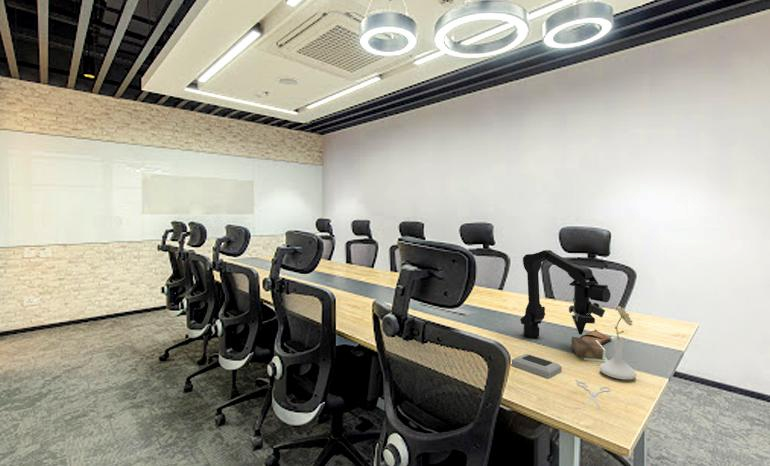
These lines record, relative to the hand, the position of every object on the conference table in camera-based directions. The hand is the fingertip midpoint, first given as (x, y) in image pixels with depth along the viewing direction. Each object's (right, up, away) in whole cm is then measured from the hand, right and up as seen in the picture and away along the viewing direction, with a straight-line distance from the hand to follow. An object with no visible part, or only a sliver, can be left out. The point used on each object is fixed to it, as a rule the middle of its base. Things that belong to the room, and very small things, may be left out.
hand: (580, 334), depth 155 cm
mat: (+4, -8, -1) cm, 9 cm away
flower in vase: (+2, -9, -21) cm, 23 cm away
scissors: (-16, -10, -37) cm, 41 cm away
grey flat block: (-26, -9, -16) cm, 32 cm away
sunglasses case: (+14, -8, +14) cm, 21 cm away
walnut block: (-2, -5, +1) cm, 6 cm away
